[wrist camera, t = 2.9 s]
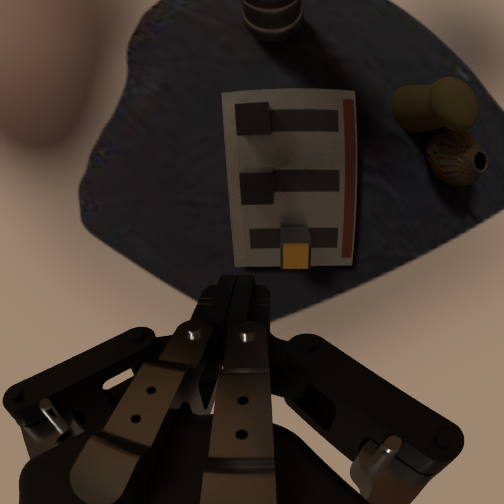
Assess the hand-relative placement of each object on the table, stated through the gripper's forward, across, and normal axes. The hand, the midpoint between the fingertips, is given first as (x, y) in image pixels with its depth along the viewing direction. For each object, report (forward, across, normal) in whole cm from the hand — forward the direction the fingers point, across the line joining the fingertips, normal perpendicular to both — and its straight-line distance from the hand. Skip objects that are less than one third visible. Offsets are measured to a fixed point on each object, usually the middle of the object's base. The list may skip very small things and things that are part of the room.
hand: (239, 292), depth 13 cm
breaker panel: (+21, -4, -2) cm, 21 cm away
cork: (+21, -18, -11) cm, 30 cm away
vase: (+20, -22, -6) cm, 31 cm away
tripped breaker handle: (+19, -4, +4) cm, 19 cm away
